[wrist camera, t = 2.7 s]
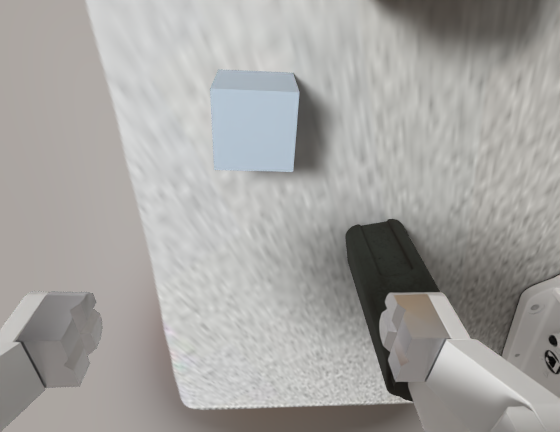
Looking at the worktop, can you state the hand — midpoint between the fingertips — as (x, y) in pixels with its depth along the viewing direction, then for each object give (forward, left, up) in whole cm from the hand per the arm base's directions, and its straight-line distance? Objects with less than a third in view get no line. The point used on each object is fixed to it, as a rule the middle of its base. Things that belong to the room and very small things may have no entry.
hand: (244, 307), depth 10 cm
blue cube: (0, 0, -19) cm, 19 cm away
